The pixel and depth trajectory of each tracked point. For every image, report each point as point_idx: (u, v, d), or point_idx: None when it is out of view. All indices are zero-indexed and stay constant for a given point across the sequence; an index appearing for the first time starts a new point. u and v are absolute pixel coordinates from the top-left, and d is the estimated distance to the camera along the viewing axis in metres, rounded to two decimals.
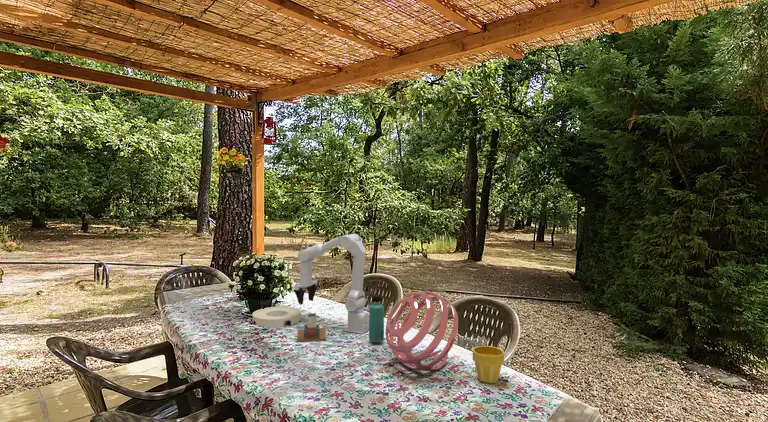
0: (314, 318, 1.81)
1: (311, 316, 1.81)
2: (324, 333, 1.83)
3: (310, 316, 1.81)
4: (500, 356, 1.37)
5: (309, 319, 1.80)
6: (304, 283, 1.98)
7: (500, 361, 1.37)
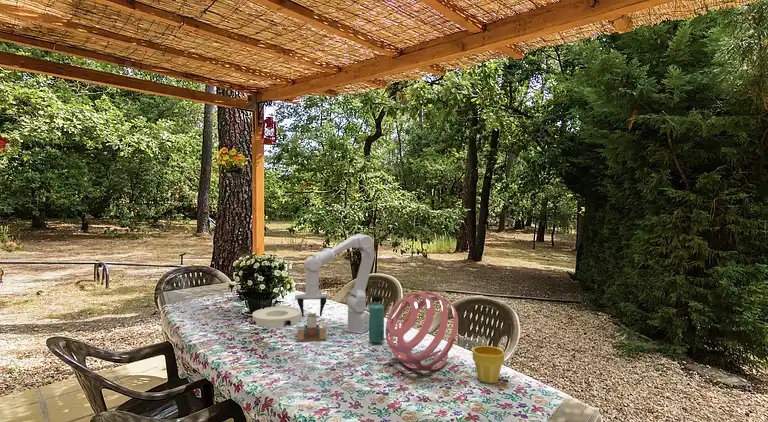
0: (314, 318, 1.81)
1: (311, 316, 1.81)
2: (324, 333, 1.83)
3: (310, 316, 1.81)
4: (500, 356, 1.37)
5: (309, 319, 1.80)
6: (306, 294, 1.80)
7: (500, 361, 1.37)
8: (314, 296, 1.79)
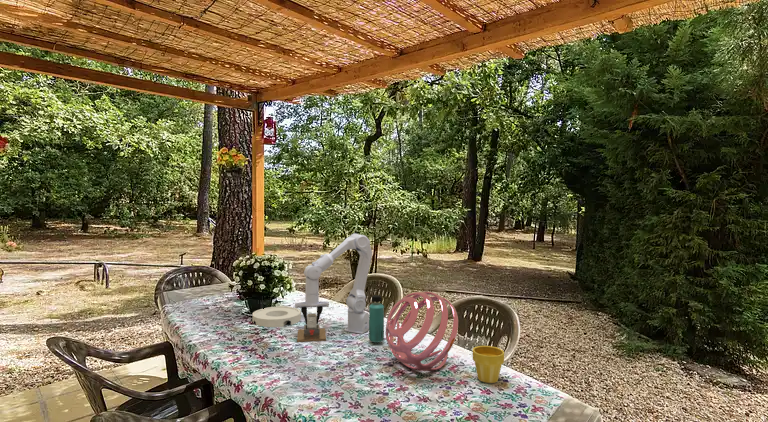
0: (314, 318, 1.81)
1: (311, 316, 1.81)
2: (324, 333, 1.83)
3: (310, 316, 1.81)
4: (500, 356, 1.37)
5: (309, 319, 1.80)
6: (306, 302, 1.80)
7: (500, 361, 1.37)
8: (314, 304, 1.80)
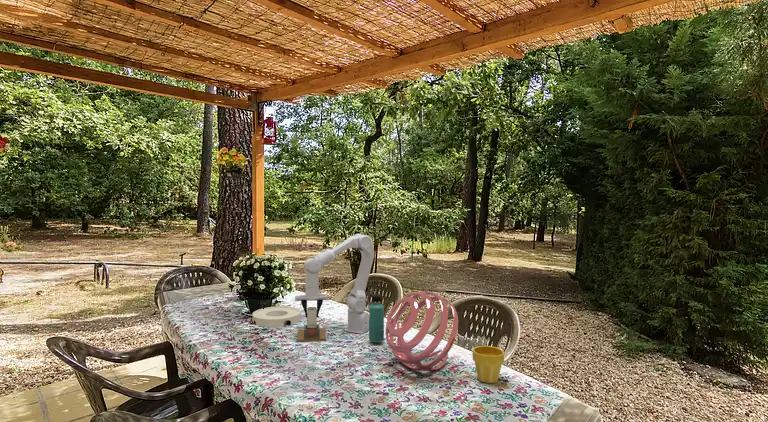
0: (314, 311, 1.80)
1: (311, 309, 1.81)
2: (324, 333, 1.83)
3: (310, 309, 1.81)
4: (500, 356, 1.37)
5: (309, 312, 1.80)
6: (306, 295, 1.80)
7: (500, 361, 1.37)
8: (314, 297, 1.79)
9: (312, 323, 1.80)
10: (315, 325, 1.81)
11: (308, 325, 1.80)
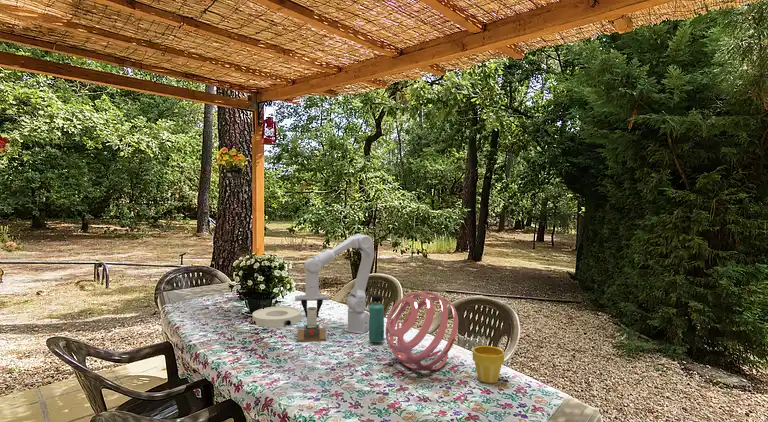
0: (314, 311, 1.80)
1: (311, 309, 1.81)
2: (324, 333, 1.83)
3: (310, 309, 1.81)
4: (500, 356, 1.37)
5: (309, 312, 1.80)
6: (306, 295, 1.80)
7: (500, 361, 1.37)
8: (314, 297, 1.79)
9: (312, 323, 1.80)
10: (315, 325, 1.81)
11: (308, 325, 1.80)
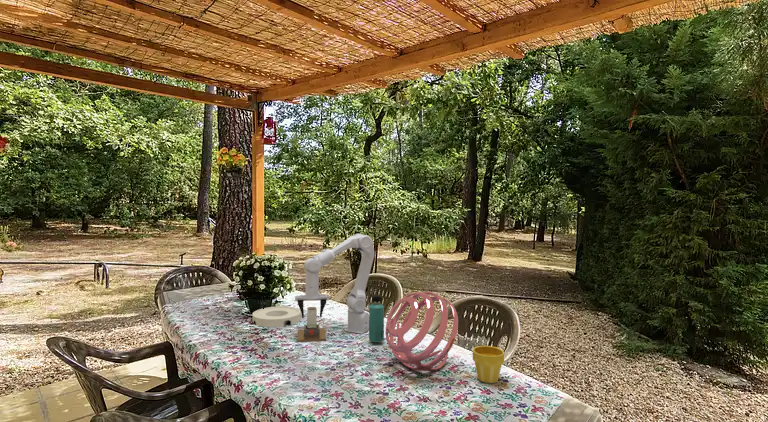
0: (314, 311, 1.80)
1: (311, 309, 1.81)
2: (324, 333, 1.83)
3: (310, 309, 1.81)
4: (500, 356, 1.37)
5: (309, 312, 1.80)
6: (306, 295, 1.80)
7: (500, 361, 1.37)
8: (314, 297, 1.79)
9: (312, 323, 1.80)
10: (315, 325, 1.81)
11: (308, 325, 1.80)
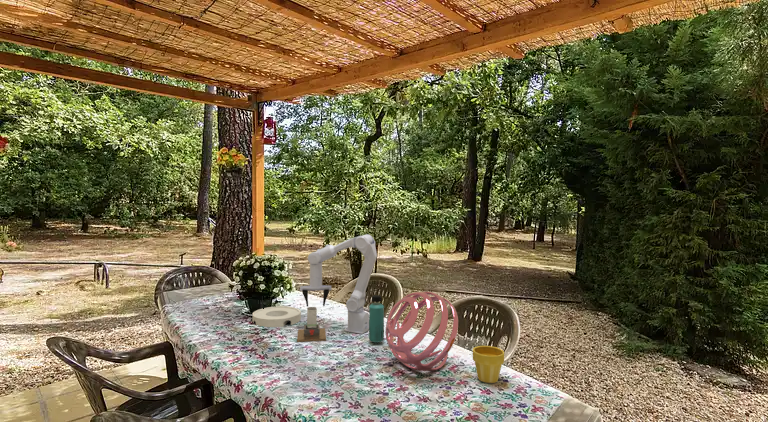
0: (314, 311, 1.80)
1: (311, 309, 1.81)
2: (324, 333, 1.83)
3: (310, 309, 1.81)
4: (500, 356, 1.37)
5: (309, 312, 1.80)
6: (310, 286, 1.95)
7: (500, 361, 1.37)
8: (318, 287, 1.94)
9: (312, 323, 1.80)
10: (315, 325, 1.81)
11: (308, 325, 1.80)
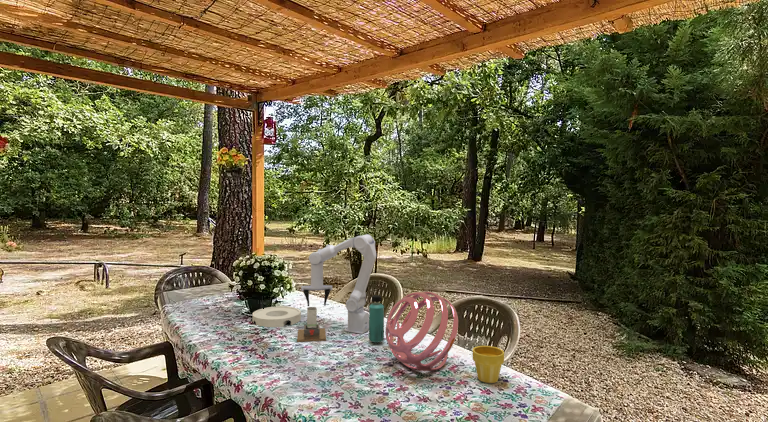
0: (314, 311, 1.80)
1: (311, 309, 1.81)
2: (324, 333, 1.83)
3: (310, 309, 1.81)
4: (500, 356, 1.37)
5: (309, 312, 1.80)
6: (311, 285, 1.96)
7: (500, 361, 1.37)
8: (319, 287, 1.95)
9: (312, 323, 1.80)
10: (315, 325, 1.81)
11: (308, 325, 1.80)
